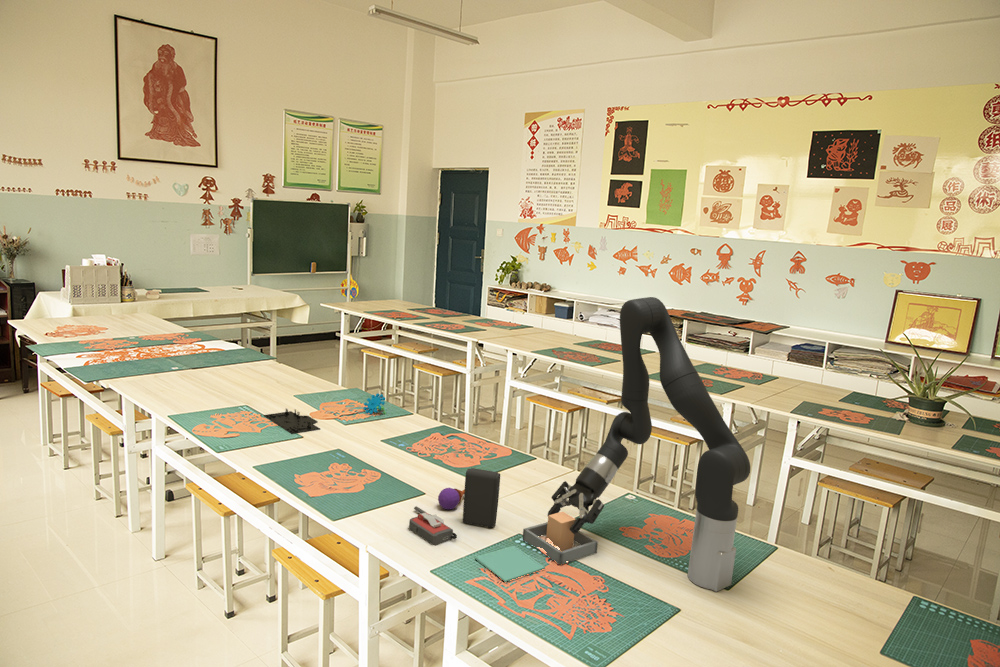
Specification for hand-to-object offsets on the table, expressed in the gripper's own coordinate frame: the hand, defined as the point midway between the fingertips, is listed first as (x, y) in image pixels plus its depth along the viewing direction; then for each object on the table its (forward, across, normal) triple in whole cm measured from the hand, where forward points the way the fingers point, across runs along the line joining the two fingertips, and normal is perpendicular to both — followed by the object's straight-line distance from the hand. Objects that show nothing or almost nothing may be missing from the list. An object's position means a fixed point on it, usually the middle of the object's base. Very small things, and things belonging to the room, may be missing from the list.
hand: (560, 524), depth 165 cm
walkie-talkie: (+22, -24, -13) cm, 35 cm away
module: (+4, 0, +4) cm, 6 cm away
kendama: (+9, -35, 0) cm, 36 cm away
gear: (-1, -123, +10) cm, 123 cm away
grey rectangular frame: (+4, 0, +4) cm, 6 cm away
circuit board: (+23, -123, -13) cm, 126 cm away
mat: (+16, +1, -8) cm, 18 cm away
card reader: (+12, -20, -4) cm, 23 cm away
